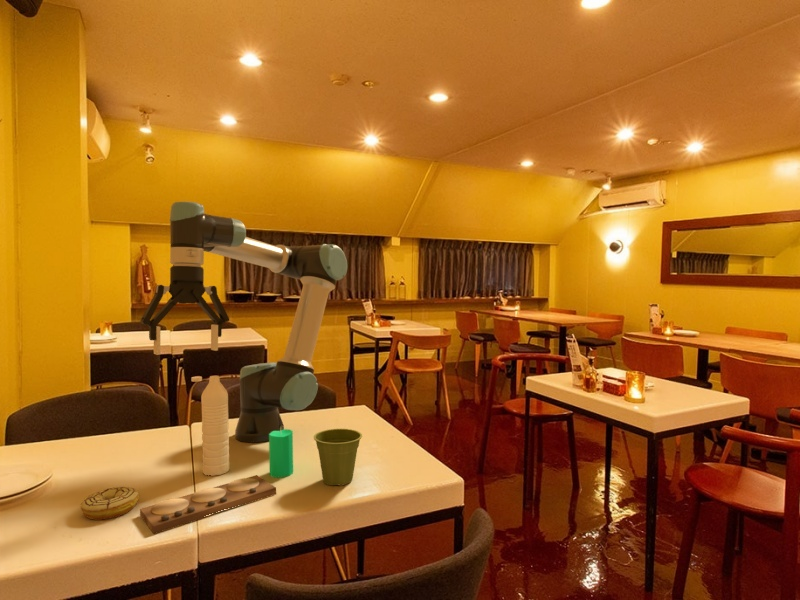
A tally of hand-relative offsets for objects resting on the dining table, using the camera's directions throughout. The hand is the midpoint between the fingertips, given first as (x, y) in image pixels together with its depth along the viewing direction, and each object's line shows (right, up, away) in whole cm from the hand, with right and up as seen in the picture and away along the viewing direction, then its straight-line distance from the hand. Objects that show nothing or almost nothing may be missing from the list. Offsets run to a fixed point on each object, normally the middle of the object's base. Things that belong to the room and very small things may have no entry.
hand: (186, 352), depth 118 cm
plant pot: (+37, -32, 0) cm, 49 cm away
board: (+11, -32, -12) cm, 36 cm away
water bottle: (+4, -32, +6) cm, 33 cm away
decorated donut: (-10, -33, -14) cm, 37 cm away
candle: (+22, -32, +5) cm, 39 cm away
